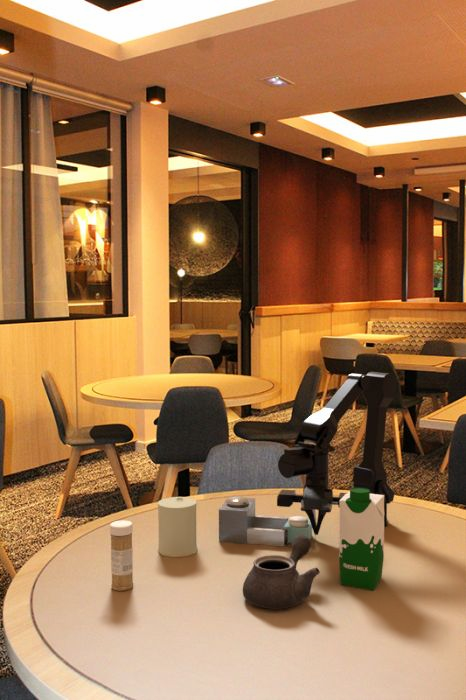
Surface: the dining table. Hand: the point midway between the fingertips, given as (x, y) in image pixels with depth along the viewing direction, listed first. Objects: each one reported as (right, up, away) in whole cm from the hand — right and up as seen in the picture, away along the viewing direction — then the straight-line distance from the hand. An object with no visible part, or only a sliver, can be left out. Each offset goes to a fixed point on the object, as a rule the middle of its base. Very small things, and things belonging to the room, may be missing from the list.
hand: (316, 534), depth 173 cm
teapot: (-10, -4, -31) cm, 33 cm away
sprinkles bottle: (-43, -4, -27) cm, 51 cm away
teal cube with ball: (-4, -2, +1) cm, 5 cm away
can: (-33, -2, -6) cm, 34 cm away
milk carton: (+6, -4, -25) cm, 26 cm away
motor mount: (-15, -1, +3) cm, 15 cm away
